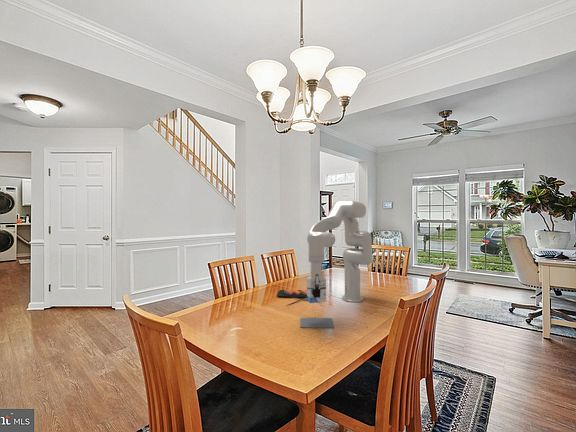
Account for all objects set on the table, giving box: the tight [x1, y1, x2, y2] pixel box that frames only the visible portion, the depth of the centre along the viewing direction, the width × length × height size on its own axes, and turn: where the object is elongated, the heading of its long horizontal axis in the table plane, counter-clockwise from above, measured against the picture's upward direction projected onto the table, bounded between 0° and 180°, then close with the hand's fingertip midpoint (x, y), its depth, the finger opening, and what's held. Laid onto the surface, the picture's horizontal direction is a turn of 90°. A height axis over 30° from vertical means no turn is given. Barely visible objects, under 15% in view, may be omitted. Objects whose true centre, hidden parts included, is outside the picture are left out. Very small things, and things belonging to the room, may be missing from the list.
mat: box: [299, 317, 335, 329], centre depth 150 cm, size 12×16×1 cm
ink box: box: [306, 275, 327, 304], centre depth 150 cm, size 8×5×12 cm, turn 105°
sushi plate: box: [276, 288, 321, 307], centre depth 191 cm, size 29×30×4 cm
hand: (316, 294), depth 150 cm, fingers closed on ink box, 6 cm apart
